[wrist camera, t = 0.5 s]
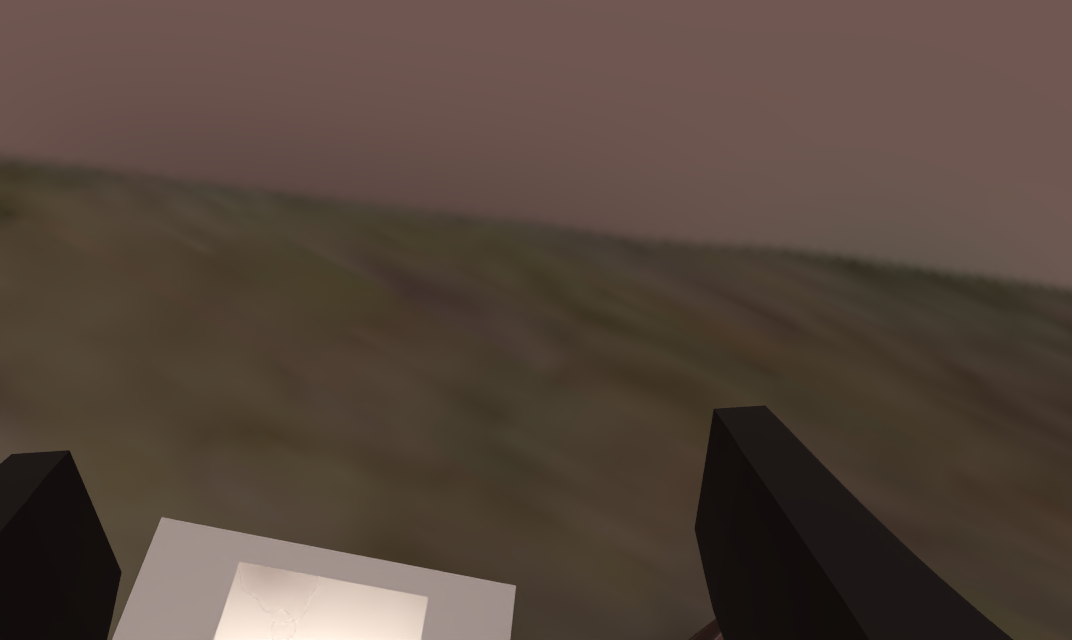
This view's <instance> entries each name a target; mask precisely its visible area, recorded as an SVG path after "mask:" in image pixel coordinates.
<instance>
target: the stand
mask: <svg viewBox="0 0 1072 640" xmlns="http://www.w3.org/2000/svg"><path fill="white" fill-rule="evenodd" d="M239 562H245V563H250V564H255V565H261V566H266V567H271V568H276V569H282V570H287V571H292V572H298V573H303V574H308V575H314V576H319V577H324V578H330V579H335V580H340V581H345V582H351V583H356V584H361V585H367V586H372V587H377V588H383V589H388V590H393V591H398V592H404V593H409V594H414V595H420V596H425V597H428V601H427V607H426V613H425V619H424V624H423V630H422V636H421V640H510V637H511V627H512V617H513V608H514V598H515V589H516V586H514V585H509V584H503V583H498V582H493V581H488V580H483V579H478V578H472V577H467V576H462V575H457V574H452V573H447V572H441V571H436V570H431V569H426V568H421V567H416V566H410V565H405V564H400V563H395V562H390V561H385V560H379V559H374V558H369V557H364V556H359V555H354V554H348V553H343V552H338V551H333V550H328V549H323V548H317V547H312V546H307V545H302V544H297V543H292V542H286V541H281V540H276V539H271V538H266V537H261V536H255V535H250V534H245V533H240V532H235V531H230V530H224V529H219V528H214V527H209V526H204V525H199V524H193V523H188V522H183V521H178V520H173V519H168V518H161V520H160V523H159V525H158V528H157V530H156V533H155V535H154V538H153V540H152V542H151V545H150V547H149V550H148V552H147V555H146V557H145V560H144V562H143V565H142V567H141V570H140V572H139V575H138V577H137V580H136V582H135V585H134V587H133V589H132V592H131V594H130V597H129V599H128V602H127V604H126V607H125V609H124V612H123V614H122V617H121V619H120V622H119V624H118V627H117V629H116V632H115V634H114V636H113V639H112V640H214V638H215V635H216V632H217V629H218V625H219V622H220V619H221V616H222V613H223V610H224V607H225V604H226V601H227V598H228V595H229V592H230V589H231V586H232V583H233V580H234V577H235V574H236V571H237V567H238V564H239Z"/></svg>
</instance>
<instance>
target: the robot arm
mask: <svg viewBox="0 0 1072 640" xmlns="http://www.w3.org/2000/svg"><path fill="white" fill-rule="evenodd" d="M695 532H696V537H697V542H698V546H699V551H700V555H701V560H702V565H703V569H704V574H705V578H706V582H707V586H708V590H709V594H710V599H711V603H712V607H713V611H714V614H715V616H716V619H717V622H718V625H719V628H720V631H721V634H722V637H723V640H1013V639H1012V638H1011V637H1009V636H1008V635H1007V634H1006V633H1004V632H1003V631H1002V630H1001V629H999V628H998V627H997V626H996V625H995V624H993V623H992V622H991V621H990V620H989V619H987V618H986V617H985V616H984V615H983V614H981V613H980V612H979V611H978V610H977V609H976V608H975V607H973V606H972V605H971V604H970V603H969V602H968V601H966V600H965V599H964V598H963V597H962V596H961V595H960V594H958V593H957V592H956V591H955V590H954V589H953V588H951V587H950V586H949V585H948V584H947V583H946V582H944V581H943V580H942V579H941V578H940V577H939V576H938V575H937V574H936V573H934V572H933V571H932V570H931V569H930V568H929V567H928V566H927V565H926V564H925V563H924V562H922V561H921V560H920V559H919V558H918V557H917V556H916V555H915V554H914V553H913V552H912V551H911V550H909V549H908V548H907V547H906V546H905V545H904V544H903V543H902V542H901V541H900V540H899V539H898V538H897V537H896V536H895V535H894V534H893V533H892V532H891V531H890V530H888V529H887V528H886V527H885V526H884V525H883V524H882V523H881V522H880V521H879V520H878V519H877V518H876V517H875V516H874V515H873V514H872V513H871V512H870V511H869V510H868V509H867V508H866V507H865V506H864V505H863V504H861V503H860V502H859V501H858V500H857V499H856V498H855V497H854V496H853V495H852V494H851V493H850V492H849V491H848V490H847V489H846V488H845V487H844V486H843V485H842V484H841V482H840V481H839V480H838V479H837V478H836V477H835V476H834V475H833V474H832V473H831V472H830V471H829V470H828V469H827V468H826V467H825V466H824V465H823V464H822V463H821V462H820V461H819V460H818V459H817V458H816V457H815V456H814V455H813V454H812V453H811V452H810V451H809V450H808V449H807V448H806V447H805V446H804V445H803V444H802V443H801V441H800V440H799V439H798V438H797V437H796V436H795V435H794V434H793V433H792V432H791V431H790V430H789V429H788V428H787V427H786V426H785V425H784V424H783V423H782V422H781V421H780V420H779V419H778V418H777V417H776V416H775V415H774V414H773V413H772V412H771V411H770V410H769V409H768V408H767V407H766V406H751V407H736V408H720V409H714V412H713V418H712V424H711V430H710V436H709V443H708V449H707V455H706V461H705V468H704V474H703V480H702V486H701V492H700V499H699V505H698V511H697V517H696V523H695ZM120 577H121V570H120V568H119V565H118V563H117V560H116V558H115V556H114V553H113V551H112V549H111V546H110V544H109V542H108V539H107V537H106V535H105V532H104V530H103V528H102V525H101V523H100V521H99V518H98V516H97V514H96V511H95V509H94V507H93V504H92V502H91V500H90V497H89V495H88V493H87V490H86V488H85V486H84V483H83V481H82V479H81V476H80V474H79V472H78V469H77V467H76V465H75V462H74V460H73V458H72V455H71V453H70V450H69V451H53V452H38V453H22V454H11V455H10V456H9V457H8V458H7V459H6V460H4V461H3V462H2V463H1V464H0V640H107V637H108V633H109V629H110V625H111V620H112V616H113V611H114V606H115V601H116V596H117V591H118V586H119V582H120Z"/></svg>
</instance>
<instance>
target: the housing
mask: <svg viewBox="0 0 1072 640" xmlns="http://www.w3.org/2000/svg"><path fill="white" fill-rule="evenodd" d="M427 601H428V597H425V596H420V595H414V594H409V593H404V592H398V591H393V590H388V589H383V588H377V587H372V586H367V585H361V584H356V583H351V582H345V581H340V580H335V579H330V578H324V577H319V576H314V575H308V574H303V573H298V572H292V571H287V570H282V569H276V568H271V567H266V566H261V565H255V564H250V563H245V562H239V564H238V567H237V571H236V574H235V577H234V580H233V583H232V586H231V589H230V592H229V595H228V598H227V601H226V604H225V607H224V610H223V613H222V616H221V619H220V622H219V625H218V629H217V632H216V635H215V638H214V640H421V636H422V630H423V624H424V619H425V613H426V607H427Z"/></svg>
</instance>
